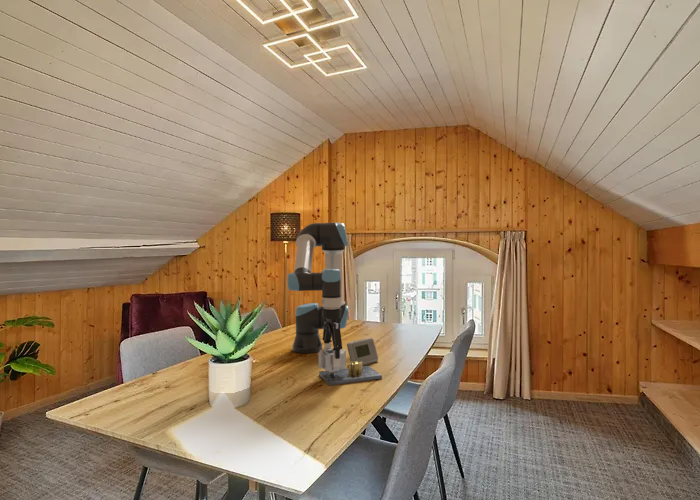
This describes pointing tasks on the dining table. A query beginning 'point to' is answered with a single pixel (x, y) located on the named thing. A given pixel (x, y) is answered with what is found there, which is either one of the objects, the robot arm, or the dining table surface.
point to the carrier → (350, 374)
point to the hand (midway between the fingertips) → (332, 362)
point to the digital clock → (363, 351)
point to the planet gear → (330, 359)
